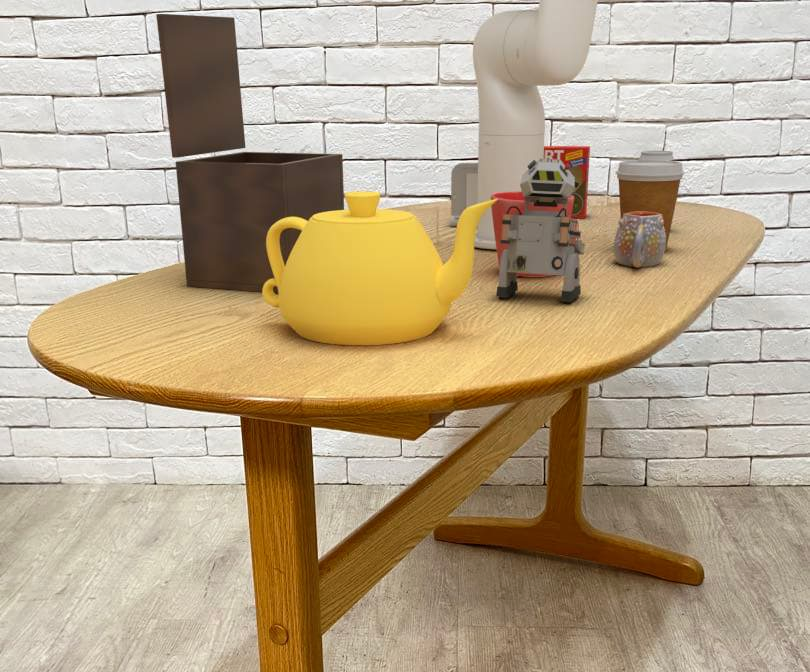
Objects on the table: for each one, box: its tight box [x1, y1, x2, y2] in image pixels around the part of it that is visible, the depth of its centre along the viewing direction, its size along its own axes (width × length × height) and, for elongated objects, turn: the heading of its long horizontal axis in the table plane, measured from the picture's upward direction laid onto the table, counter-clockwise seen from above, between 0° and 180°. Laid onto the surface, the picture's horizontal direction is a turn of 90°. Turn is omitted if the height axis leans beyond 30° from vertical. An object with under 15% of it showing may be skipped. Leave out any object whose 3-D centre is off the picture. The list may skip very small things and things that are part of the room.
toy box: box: [544, 145, 591, 220], centre depth 191 cm, size 18×4×12 cm, turn 77°
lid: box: [155, 13, 246, 159], centre depth 134 cm, size 16×16×1 cm
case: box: [175, 151, 345, 294], centre depth 137 cm, size 15×16×15 cm
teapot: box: [261, 190, 498, 346], centre depth 111 cm, size 25×18×14 cm
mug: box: [612, 211, 666, 269], centre depth 144 cm, size 12×7×7 cm, turn 163°
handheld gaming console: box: [450, 162, 478, 227], centre depth 183 cm, size 13×9×10 cm
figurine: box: [495, 159, 586, 304], centre depth 126 cm, size 9×12×15 cm
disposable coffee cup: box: [615, 159, 685, 252], centre depth 156 cm, size 10×10×12 cm
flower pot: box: [491, 191, 574, 278], centre depth 141 cm, size 11×11×10 cm
